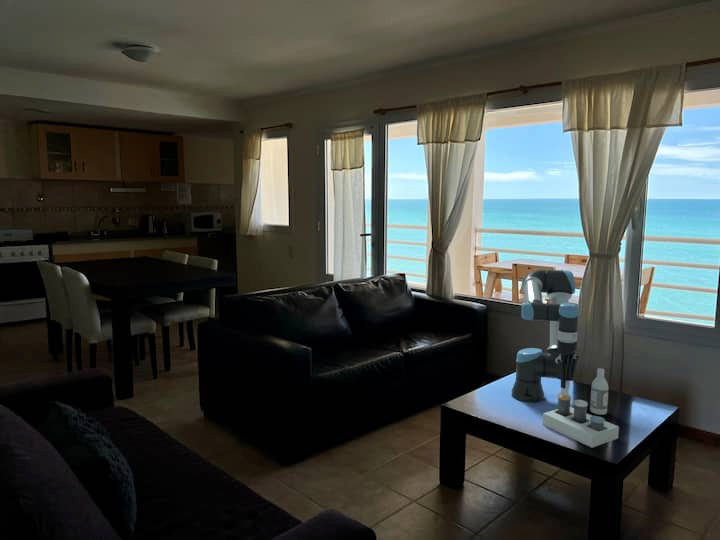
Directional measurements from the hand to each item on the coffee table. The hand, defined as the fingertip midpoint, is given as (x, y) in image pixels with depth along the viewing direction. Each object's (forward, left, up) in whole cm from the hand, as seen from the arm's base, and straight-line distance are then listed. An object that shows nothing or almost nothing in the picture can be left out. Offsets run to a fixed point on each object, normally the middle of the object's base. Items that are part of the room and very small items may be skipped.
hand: (564, 394), depth 217 cm
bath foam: (-1, +24, -13) cm, 28 cm away
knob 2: (+8, 0, -9) cm, 12 cm away
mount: (+8, 0, -13) cm, 15 cm away
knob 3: (+16, 0, -13) cm, 20 cm away
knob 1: (0, 0, -9) cm, 9 cm away
